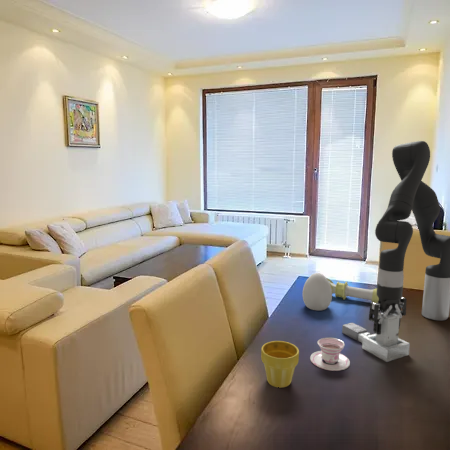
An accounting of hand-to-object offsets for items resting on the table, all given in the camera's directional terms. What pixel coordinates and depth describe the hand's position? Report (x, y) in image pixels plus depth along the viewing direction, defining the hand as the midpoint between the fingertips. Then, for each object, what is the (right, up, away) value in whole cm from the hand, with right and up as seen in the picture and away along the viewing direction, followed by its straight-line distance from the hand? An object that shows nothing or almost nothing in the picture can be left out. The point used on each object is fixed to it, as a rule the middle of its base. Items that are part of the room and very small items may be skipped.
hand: (386, 330), depth 125 cm
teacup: (-20, -8, -5) cm, 22 cm away
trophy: (+2, 0, +51) cm, 51 cm away
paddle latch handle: (-3, -6, +6) cm, 9 cm away
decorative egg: (-13, -1, +40) cm, 42 cm away
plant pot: (-37, -10, -16) cm, 42 cm away
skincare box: (0, -7, +1) cm, 7 cm away
